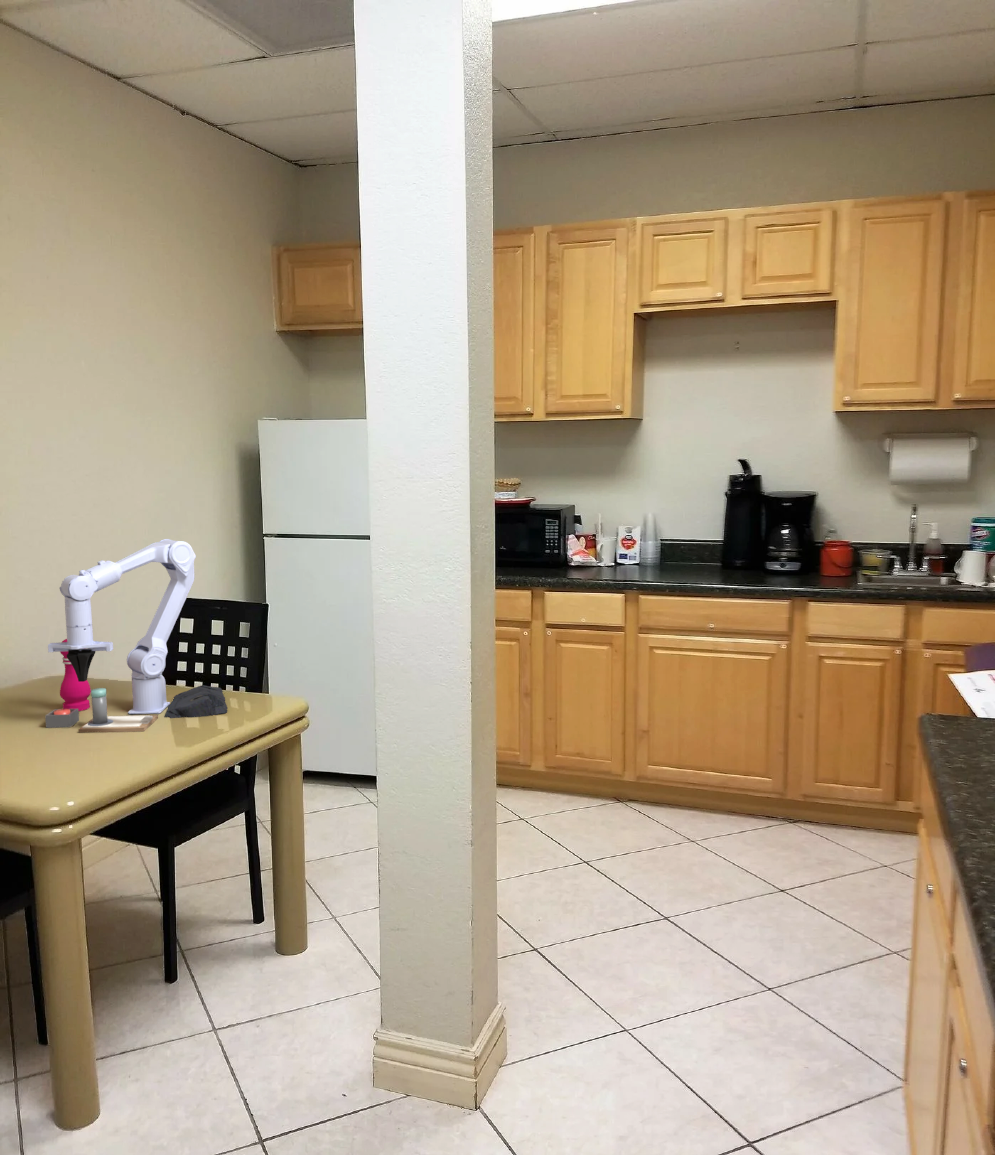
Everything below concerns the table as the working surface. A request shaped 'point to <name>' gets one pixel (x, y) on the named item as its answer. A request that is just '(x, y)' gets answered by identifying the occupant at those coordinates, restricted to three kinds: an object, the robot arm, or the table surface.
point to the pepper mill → (73, 687)
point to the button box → (62, 719)
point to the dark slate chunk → (197, 703)
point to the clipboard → (120, 724)
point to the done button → (62, 712)
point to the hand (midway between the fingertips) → (82, 680)
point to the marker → (99, 706)
